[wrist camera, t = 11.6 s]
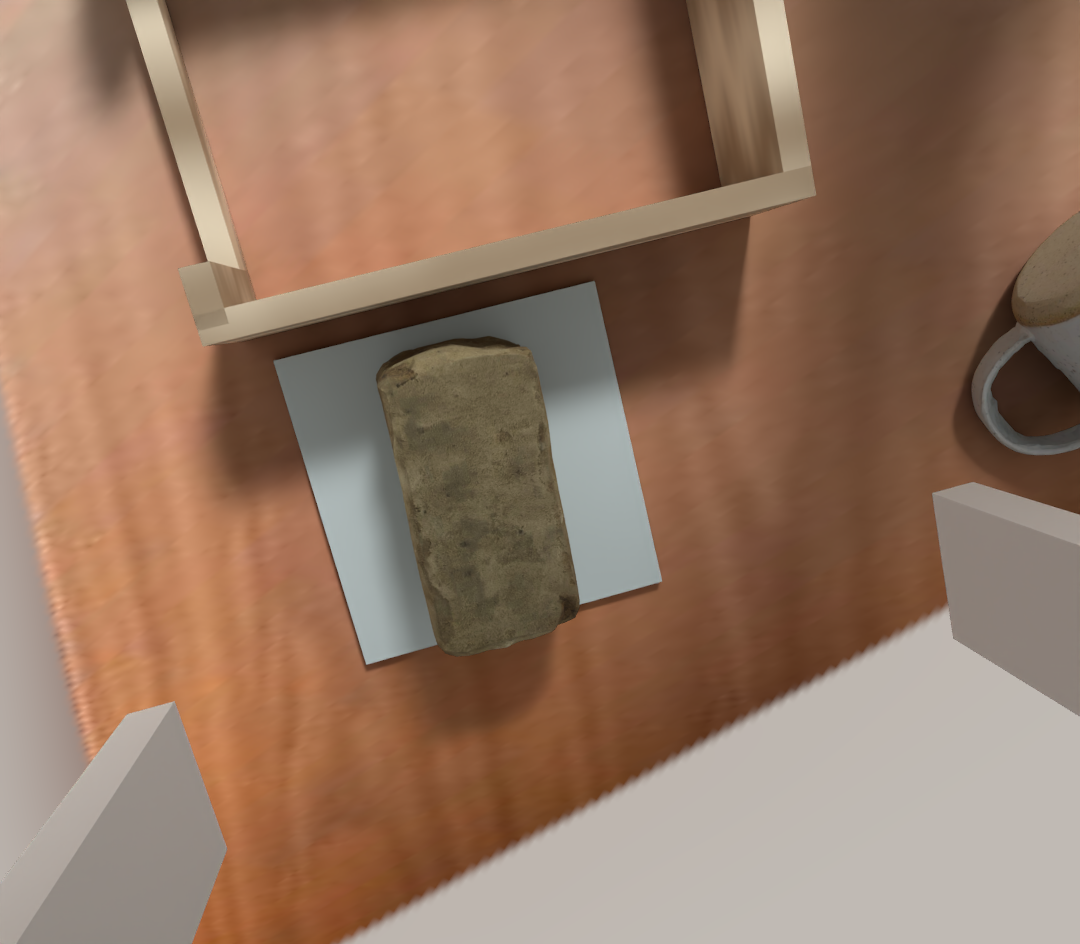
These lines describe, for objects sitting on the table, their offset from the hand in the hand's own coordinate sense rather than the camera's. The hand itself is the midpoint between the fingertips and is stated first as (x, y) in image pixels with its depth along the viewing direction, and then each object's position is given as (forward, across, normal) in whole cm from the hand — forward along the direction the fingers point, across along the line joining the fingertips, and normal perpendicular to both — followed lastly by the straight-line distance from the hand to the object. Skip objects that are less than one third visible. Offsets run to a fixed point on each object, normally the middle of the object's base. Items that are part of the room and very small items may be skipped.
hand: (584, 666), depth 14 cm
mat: (+22, -1, -1) cm, 22 cm away
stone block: (+21, -1, -1) cm, 21 cm away
